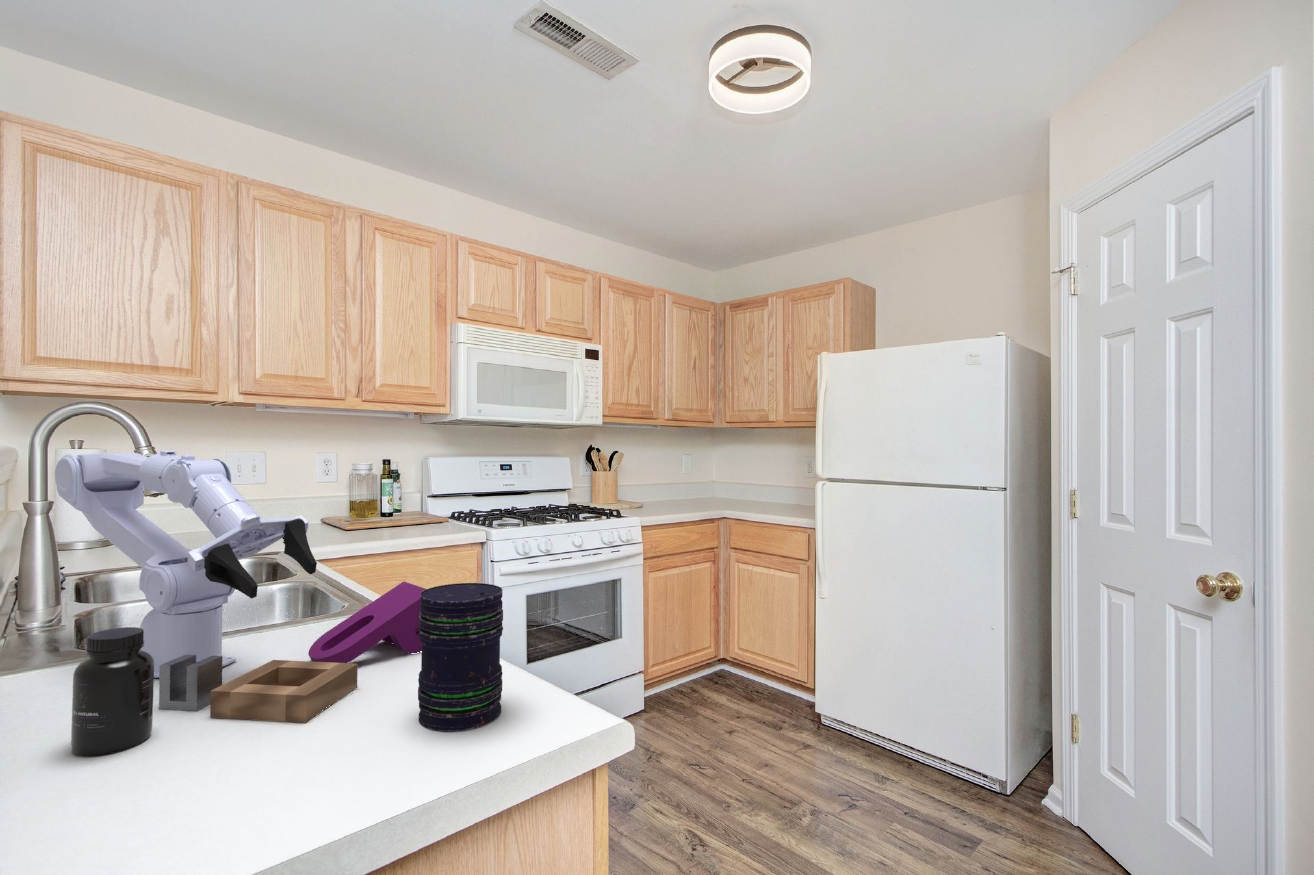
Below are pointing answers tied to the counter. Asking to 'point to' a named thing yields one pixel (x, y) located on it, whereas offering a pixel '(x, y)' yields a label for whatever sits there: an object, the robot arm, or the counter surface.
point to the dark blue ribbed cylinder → (460, 656)
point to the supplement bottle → (112, 693)
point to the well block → (284, 691)
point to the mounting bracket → (374, 627)
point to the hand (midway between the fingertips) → (285, 580)
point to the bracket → (188, 682)
